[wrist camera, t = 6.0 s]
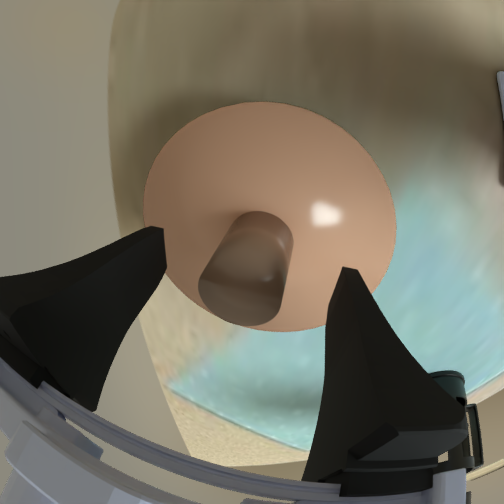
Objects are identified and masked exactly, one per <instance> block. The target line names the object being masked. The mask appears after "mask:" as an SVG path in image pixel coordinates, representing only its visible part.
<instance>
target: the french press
mask: <svg viewBox="0 0 504 504" xmlns="http://www.w3.org/2000/svg"><path fill="white" fill-rule="evenodd" d="M429 375H430V376H431V377H432V378H433V379H434V380H435V381H436V382H437V383H438V384H439V385H440V386H441V387H442V388H443V389H444V390H445V391H446V392H447V393H448V394H450V395H451V396H452V397H453V398H454V399H455V400H457V401H458V402H459V403H460V404H461V405H462V406H464V407H465V411H466V412H468V414H469V420H470V428H471V436H472V445H473V456H471V455H470V443H469V434H468V435H467V437H466V438H465V439H464V440H463V441H462V442H461V443H460V444H458V445H457V446H455V447H454V448H452V449H450V450H448V461H444V462H440V463H438V465H437V467H434V468H433V475H435V474H438V473H442V472H447V471H452V470H457V469H462V468H465V469H466V473H468V472H470V471H473V470H475V469H477V468H479V467H481V466H482V465H483V463H484V461H483V449H482V439H481V431H480V424H479V418H478V411H477V406H476V404H468V405H467V398H466V393H465V388H464V383H465V380H464V376H463V375H462V374H461V373H459V372H456V371H441V372H436V373H432V374H429ZM467 424H468V423H467ZM466 504H471V491H470V492H466Z"/></svg>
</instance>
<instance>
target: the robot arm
mask: <svg viewBox="0 0 504 504" xmlns="http://www.w3.org/2000/svg"><path fill="white" fill-rule="evenodd" d="M497 81H498V86H499V91H500V97H501V104H502V111H503V119H504V71H499V72H498V73H497ZM166 269H167V260H166V250H165V240H164V228H160V227H155V226H149V227H146V228H143V229H141V230H139V231H136V232H134V233H132V234H130V235H128V236H126V237H124V238H121V239H119V240H117V241H115V242H114V243H111V244H110V245H107V246H105V247H102V248H100V249H98V250H96V251H94V252H91V253H89V254H87V255H84V256H82V257H79V258H77V259H74V260H71V261H69V262H66V263H63V264H60V265H57V266H53V267H50V268H46V269H43V270H39V271H35V272H31V273H25V274H20V275H13V276H5V277H0V429H1V431H2V432H3V433H4V434H5V436H6V437H7V438H8V439H9V440H10V442H9V444H8V445H7V447H6V449H5V457H6V459H7V461H8V462H9V464H11V466H12V467H13V470H12V472H11V475H10V477H9V479H8V481H7V483H6V485H5V487H4V490H3V492H2V494H1V496H0V504H200V503H197V502H193V501H191V500H187V499H184V498H182V497H179V496H176V495H173V494H171V493H168V492H165V491H163V490H160V489H158V488H155V487H153V486H151V485H148V484H146V483H144V482H141V481H139V480H137V479H135V478H133V477H131V476H129V475H127V474H125V473H123V472H121V471H119V470H117V469H115V468H113V467H111V466H109V465H107V464H106V463H104V462H102V461H100V457H101V455H102V453H103V449H102V448H101V447H99V446H98V445H96V444H95V443H93V442H92V441H91V440H89V439H88V438H87V437H85V436H84V435H83V434H82V433H81V432H80V431H78V430H77V429H75V428H74V427H73V426H71V425H70V424H68V423H67V422H66V419H65V417H66V418H67V419H69V420H70V421H72V422H73V423H75V424H76V425H78V426H80V427H81V428H83V429H84V430H86V431H88V432H89V433H91V434H93V435H94V436H96V437H98V438H100V439H102V440H103V441H105V442H107V443H109V444H110V445H112V446H114V447H116V448H118V449H120V450H122V451H124V452H126V453H128V454H130V455H133V456H134V457H137V458H139V459H141V460H143V461H146V462H148V463H150V464H153V465H155V466H157V467H160V468H162V469H165V470H167V471H170V472H173V473H176V474H178V475H181V476H184V477H187V478H190V479H193V480H196V481H199V482H203V483H206V484H209V485H213V486H216V487H220V488H224V489H228V490H232V491H236V492H240V493H245V494H250V495H255V496H261V497H267V498H273V499H280V500H287V501H296V502H293V503H291V504H466V469H465V468H462V469H457V470H452V471H447V472H442V473H438V474H435V475H433V468H434V467H437V465H438V456H439V455H441V454H443V453H445V452H447V451H448V450H450V449H452V448H454V447H455V446H457V445H458V444H460V443H461V442H462V441H463V440H464V439H465V438H466V437H467V435H468V424H467V417H466V411H465V407H464V406H462V405H461V404H460V403H459V402H458V401H457V400H455V399H454V398H453V397H452V396H451V395H450V394H448V393H447V392H446V391H445V390H444V389H443V388H442V387H441V386H440V385H439V384H438V383H437V382H436V381H435V380H434V379H433V378H432V377H431V376H430V375H429V374H428V373H427V372H426V371H425V370H424V369H423V368H422V366H421V365H420V364H419V363H418V362H417V361H416V360H415V358H414V357H413V356H412V355H411V354H410V352H409V351H408V350H407V348H406V347H405V346H404V344H403V343H402V342H401V340H400V339H399V338H398V336H397V335H396V333H395V332H394V331H393V329H392V328H391V326H390V324H389V323H388V321H387V320H386V318H385V317H384V315H383V313H382V312H381V310H380V308H379V307H378V305H377V303H376V302H375V300H374V298H373V296H372V295H371V293H370V291H369V289H368V287H367V285H366V284H365V282H364V280H363V278H362V276H361V274H360V273H359V271H358V270H357V269H353V268H348V267H344V266H342V269H341V272H340V275H339V278H338V280H337V283H336V286H335V289H334V291H333V294H332V296H331V299H330V302H329V304H328V311H327V319H326V327H325V376H324V387H323V393H322V399H321V405H320V411H319V416H318V421H317V425H316V430H315V434H314V438H313V442H312V446H311V450H310V454H309V457H308V461H307V464H306V467H305V471H304V474H303V477H302V480H301V481H297V480H289V479H282V478H276V477H270V476H264V475H259V474H254V473H249V472H245V471H240V470H236V469H232V468H228V467H224V466H221V465H217V464H213V463H210V462H207V461H203V460H200V459H197V458H194V457H191V456H188V455H185V454H182V453H179V452H176V451H174V450H171V449H169V448H166V447H163V446H161V445H158V444H156V443H154V442H151V441H149V440H146V439H144V438H142V437H140V436H137V435H135V434H133V433H131V432H129V431H126V430H125V429H123V428H121V427H118V426H116V425H115V424H113V423H111V422H109V421H107V420H105V419H103V418H101V417H100V416H98V415H96V414H94V413H92V412H93V411H96V409H97V405H98V402H99V398H100V395H101V392H102V388H103V385H104V382H105V380H106V377H107V374H108V372H109V369H110V367H111V364H112V362H113V360H114V357H115V355H116V353H117V351H118V348H119V347H120V344H121V342H122V340H123V338H124V337H125V334H126V333H127V331H128V329H129V328H130V326H131V324H132V323H133V321H134V320H135V318H136V317H137V316H138V314H139V313H140V311H141V310H142V308H143V307H144V305H145V304H146V303H147V301H148V300H149V298H150V297H151V295H152V294H153V293H154V291H155V290H156V288H157V287H158V285H159V283H160V281H161V279H162V277H163V275H164V273H165V271H166ZM240 504H290V503H282V502H271V501H263V500H255V499H249V498H246V499H244V500H243V502H241V503H240Z"/></svg>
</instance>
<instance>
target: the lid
mask: <svg viewBox="0 0 504 504" xmlns="http://www.w3.org/2000/svg"><path fill="white" fill-rule="evenodd" d="M143 216H144V223H145V228H146V227H149V226H155V227H160V228H164V240H165V250H166V260H167V269H166V271H165V273H166V274H167V276H168V277H169V278H170V280H171V281H172V282H173V283H174V284H175V285H176V287H177V288H178V289H180V290H181V291H182V292H183V293H184V294H185V295H186V296H187V297H188V298H189V299H191V300H192V301H193V302H195V303H196V304H197V305H199V306H200V307H202V308H203V309H205V310H206V311H208V312H210V313H212V314H214V315H215V316H217V317H219V318H221V319H223V320H225V321H227V322H230V323H233V324H236V325H240V326H243V327H247V328H252V329H256V330H263V331H271V332H292V331H302V330H307V329H313V328H316V327H320V326H323V325H326V319H327V311H328V304H329V302H330V299H331V296H332V294H333V291H334V289H335V286H336V283H337V280H338V278H339V275H340V272H341V269H342V266H344V267H348V268H353V269H357V270H358V271H359V273H360V274H361V276H362V278H363V280H364V282H365V284H366V285H367V287H368V289H369V291H370V293H371V294H372V293H373V292H374V290H375V289H376V288H377V287H378V285H379V284H380V282H381V280H382V279H383V277H384V275H385V273H386V272H387V269H388V267H389V264H390V262H391V259H392V256H393V251H394V247H395V241H396V216H395V208H394V204H393V200H392V197H391V193H390V190H389V188H388V186H387V183H386V181H385V179H384V176H383V174H382V173H381V171H380V170H379V168H378V166H377V165H376V163H375V162H374V160H373V159H372V157H371V156H370V154H369V153H368V152H367V151H366V150H365V149H364V147H363V146H362V145H361V144H360V143H359V142H358V141H357V140H356V139H355V138H354V137H353V136H352V135H351V134H349V133H348V132H347V131H346V130H344V129H343V128H342V127H341V126H339V125H338V124H336V123H334V122H333V121H331V120H329V119H328V118H326V117H324V116H322V115H320V114H318V113H315V112H313V111H310V110H308V109H305V108H302V107H298V106H294V105H290V104H286V103H278V102H268V101H259V102H244V103H239V104H234V105H230V106H225V107H221V108H218V109H216V110H213V111H211V112H208V113H205V114H203V115H201V116H199V117H198V118H196V119H194V120H192V121H191V122H189V123H187V124H186V125H185V126H184V127H182V128H181V129H180V130H179V131H178V132H176V133H175V134H174V135H173V136H172V137H171V138H170V139H169V141H168V142H167V143H166V144H165V145H164V146H163V148H162V149H161V151H160V152H159V154H158V155H157V157H156V158H155V160H154V162H153V165H152V167H151V169H150V171H149V174H148V178H147V181H146V185H145V190H144V198H143Z"/></svg>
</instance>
